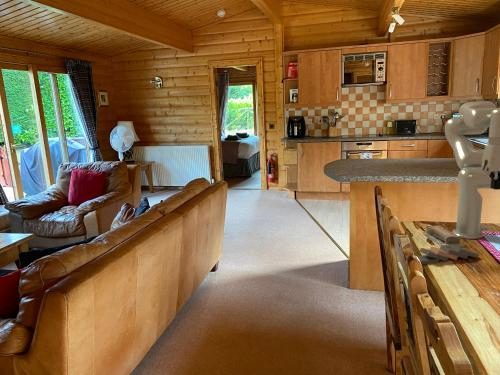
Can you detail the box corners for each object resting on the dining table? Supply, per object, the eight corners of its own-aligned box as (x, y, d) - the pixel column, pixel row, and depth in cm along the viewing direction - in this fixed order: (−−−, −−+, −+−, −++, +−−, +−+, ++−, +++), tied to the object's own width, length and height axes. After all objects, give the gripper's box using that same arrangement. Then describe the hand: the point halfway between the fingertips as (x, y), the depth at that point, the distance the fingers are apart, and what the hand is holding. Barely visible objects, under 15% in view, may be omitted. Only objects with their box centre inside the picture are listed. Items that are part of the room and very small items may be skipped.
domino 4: (459, 250, 155) (441, 245, 153) (468, 255, 150) (449, 249, 148) (458, 254, 155) (439, 248, 153) (466, 259, 150) (447, 253, 149)
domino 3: (449, 251, 154) (431, 246, 153) (458, 256, 150) (439, 250, 148) (447, 255, 155) (429, 249, 153) (456, 260, 150) (437, 254, 148)
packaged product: (422, 225, 180) (443, 224, 180) (422, 235, 181) (442, 234, 181) (443, 238, 162) (466, 236, 163) (442, 248, 163) (465, 247, 164)
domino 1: (430, 254, 153) (410, 256, 151) (438, 259, 148) (417, 261, 147) (430, 258, 153) (409, 260, 152) (438, 263, 148) (417, 265, 147)
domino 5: (469, 250, 156) (451, 244, 154) (478, 254, 151) (460, 248, 149) (468, 253, 156) (450, 247, 154) (477, 258, 151) (458, 252, 149)
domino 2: (439, 253, 154) (421, 247, 152) (448, 257, 149) (429, 252, 147) (438, 256, 154) (419, 251, 152) (446, 261, 149) (427, 256, 147)
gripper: (509, 140, 150) (504, 185, 154) (474, 141, 148) (471, 188, 152) (525, 141, 143) (520, 189, 146) (489, 143, 141) (485, 192, 144)
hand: (495, 188), depth 149 cm, fingers closed
